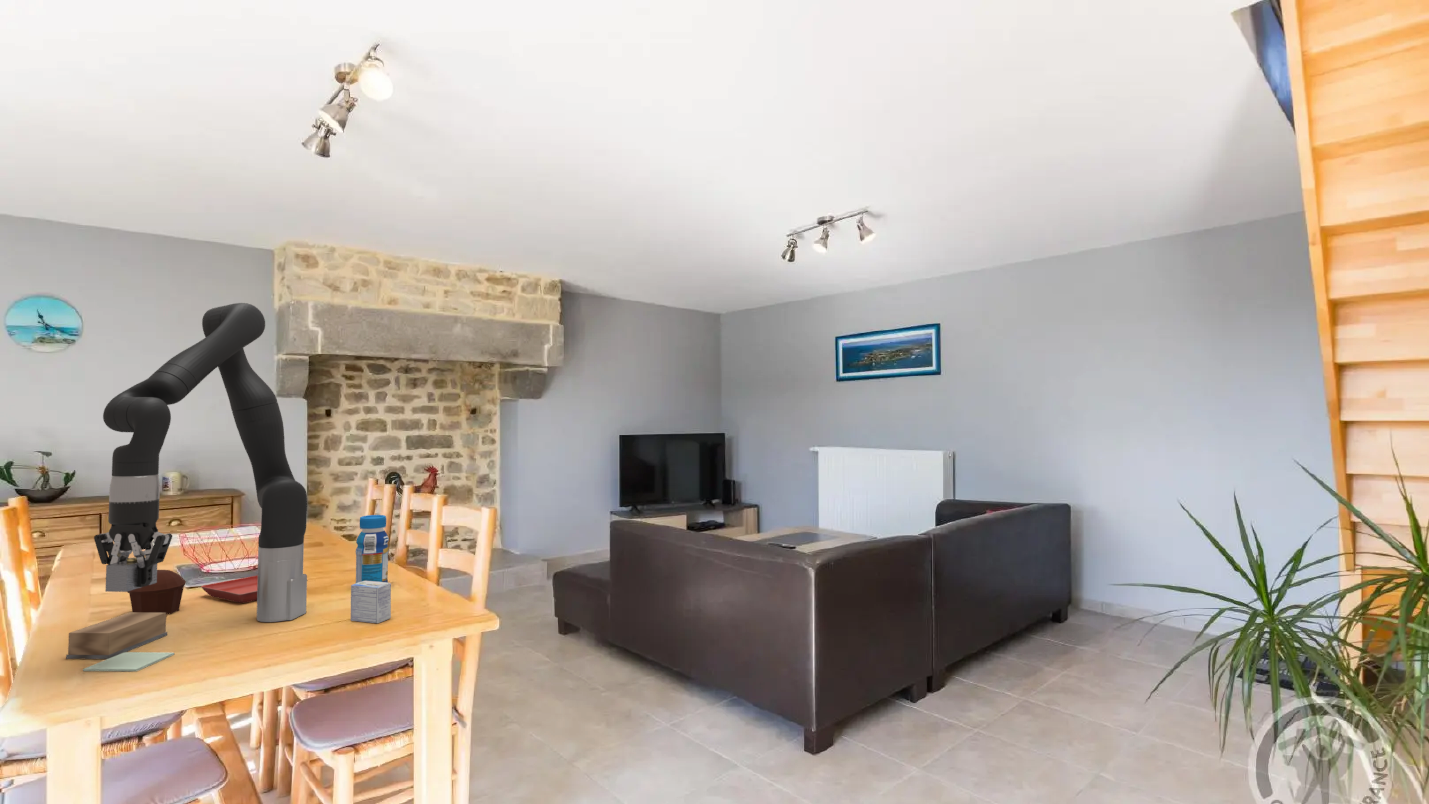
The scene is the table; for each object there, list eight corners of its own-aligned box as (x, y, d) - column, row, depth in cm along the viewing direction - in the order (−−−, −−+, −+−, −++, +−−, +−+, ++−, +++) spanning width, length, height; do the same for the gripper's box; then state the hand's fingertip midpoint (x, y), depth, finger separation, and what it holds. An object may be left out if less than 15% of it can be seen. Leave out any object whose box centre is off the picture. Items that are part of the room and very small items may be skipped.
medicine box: (391, 618, 161) (392, 582, 161) (377, 624, 157) (378, 587, 157) (364, 615, 163) (365, 580, 164) (349, 621, 159) (350, 584, 159)
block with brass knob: (156, 582, 135) (157, 554, 135) (126, 591, 128) (127, 562, 128) (136, 582, 135) (137, 554, 135) (105, 591, 128) (106, 562, 128)
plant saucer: (269, 583, 194) (269, 572, 195) (308, 591, 187) (309, 579, 187) (198, 598, 178) (199, 585, 178) (239, 607, 170) (239, 594, 170)
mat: (174, 654, 136) (174, 652, 136) (136, 671, 127) (136, 669, 127) (124, 654, 136) (124, 652, 136) (83, 671, 127) (83, 668, 127)
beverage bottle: (347, 589, 187) (349, 517, 188) (373, 582, 195) (375, 513, 196) (369, 592, 184) (370, 519, 184) (395, 585, 192) (396, 515, 192)
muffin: (194, 610, 166) (195, 569, 166) (138, 622, 157) (139, 579, 157) (172, 603, 172) (173, 564, 172) (117, 614, 163) (118, 572, 163)
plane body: (167, 635, 148) (167, 612, 148) (108, 658, 133) (109, 633, 133) (128, 634, 148) (129, 611, 148) (66, 658, 133) (66, 633, 133)
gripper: (185, 496, 136) (183, 581, 136) (115, 495, 136) (112, 580, 136) (155, 501, 129) (152, 591, 128) (80, 500, 128) (77, 590, 128)
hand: (131, 585), depth 132 cm, fingers closed on block with brass knob, 4 cm apart
